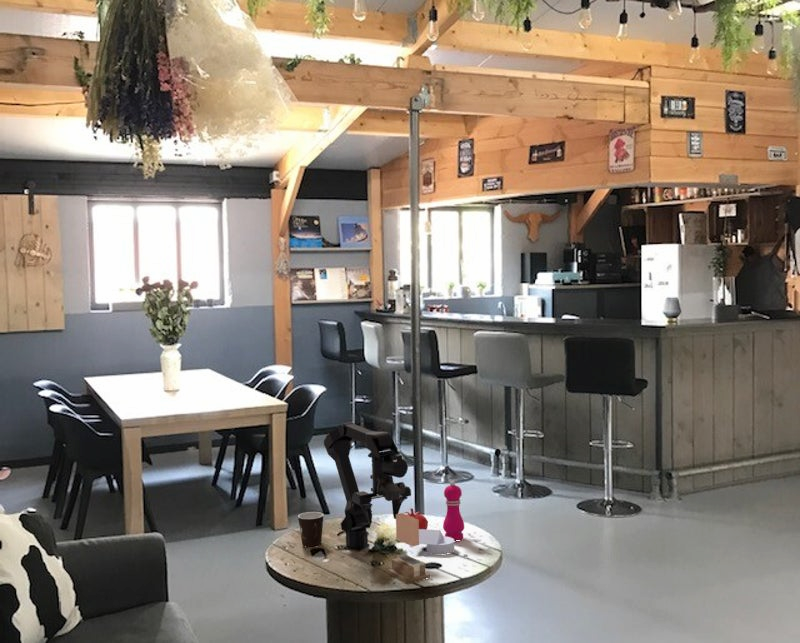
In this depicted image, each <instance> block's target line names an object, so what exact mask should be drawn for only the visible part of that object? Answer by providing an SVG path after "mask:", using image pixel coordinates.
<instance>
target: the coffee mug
mask: <svg viewBox="0 0 800 643" xmlns="http://www.w3.org/2000/svg"><path fill="white" fill-rule="evenodd" d="M297 520H298V524H299V532H300V538H301V544H302V545H303V546H306V547H305V548H308V547H312V548H317V547H316V546H318V547H320V546H321V545H322V538H323V526H324V513H322V512H319V511H307V512H302V513H300V514H298V515H297ZM303 546H302V547H303Z"/></svg>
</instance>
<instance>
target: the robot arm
mask: <svg viewBox="0 0 800 643" xmlns="http://www.w3.org/2000/svg"><path fill="white" fill-rule="evenodd" d="M353 440H355V441H357V442H360V443H362V444H364V445H365V448H366V449H367V450H368V451H370V452H369V453H368V455H367V458H371V473H372V474H370V476H369V477H370V479H371V480H372V487H371V488H370V493H369V492H366V491H363V490H361V491H360V489H359V485H358V483H357V480H356V476H355V473H354V470H353V467H352V466H353V465H352V462H351V459H350V452H351V449H352V447H351V445H352V444H351V442H353ZM323 445H324V446H323V447H324V448H325V451H326V453H327V455H328V457H330V458H331V459H333V461H334V463H335V466H336V470H337V473H338V476H339V479H340V482H341V486H342V491H343V493H344V496H345V501H346V503H345V508H344V515H345V516H344V518H343V520H342V521H341V522H340V528H341V531H343V532H345V546H343V549H345V550H352V551H358V552H359V551H362V550H364V549H365V548H368V547H369V546H370V543H369V540H368V539H369V538H368V537H369V536H368V533H367V529H370V528H371V524H372V522H373V521H372V520H373V511H372V507H373V503H372V500H375V499H380V498H384V500H385V501H387V502H391V504H392V507H391V508H392V515H393V516H392V517H393V519H394V520H396V514H400V508H401V506H402V504H403V502H404V501H405V500H407V499H408V497H411V496H412V489H411V488H410V487H409V486H407V485H405V482H403V481H399V482H395V481H394V478H393V477H395V478H399V479H401V478H403V477H404V476H406V474H407V473H408V470H409V469H408V468H409V467H408V466H409V465H408V463H407V461H405V459H403V455H402V454H400V452H399V448H398V447H397V445H396V444H395V441H394V439H393V437H392V434H390V432H387V431H373V430H370V429H368V428H365V427H362V426H361V425H357V424H356V423H355V422H351V421H349V422H345V423H340V424H339V425H338V426H337V427H336V428H335V429H334V430H332V431H330V432H329V433H328V434H327V435H326V436H325V438H324V440H323Z"/></svg>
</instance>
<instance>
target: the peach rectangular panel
mask: <svg viewBox="0 0 800 643" xmlns="http://www.w3.org/2000/svg"><path fill="white" fill-rule="evenodd" d="M406 514H407V513H404V512H399V513H398V514H396V519H395V525H396V526H395V527H396V528H395V532H396V533H395V534H396V540H399V541H400V542H402V543H405V545H408V546H411V547H417V546H420V544H419V520H418V519H415V518H413V517H411V516H408V515H406Z"/></svg>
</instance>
